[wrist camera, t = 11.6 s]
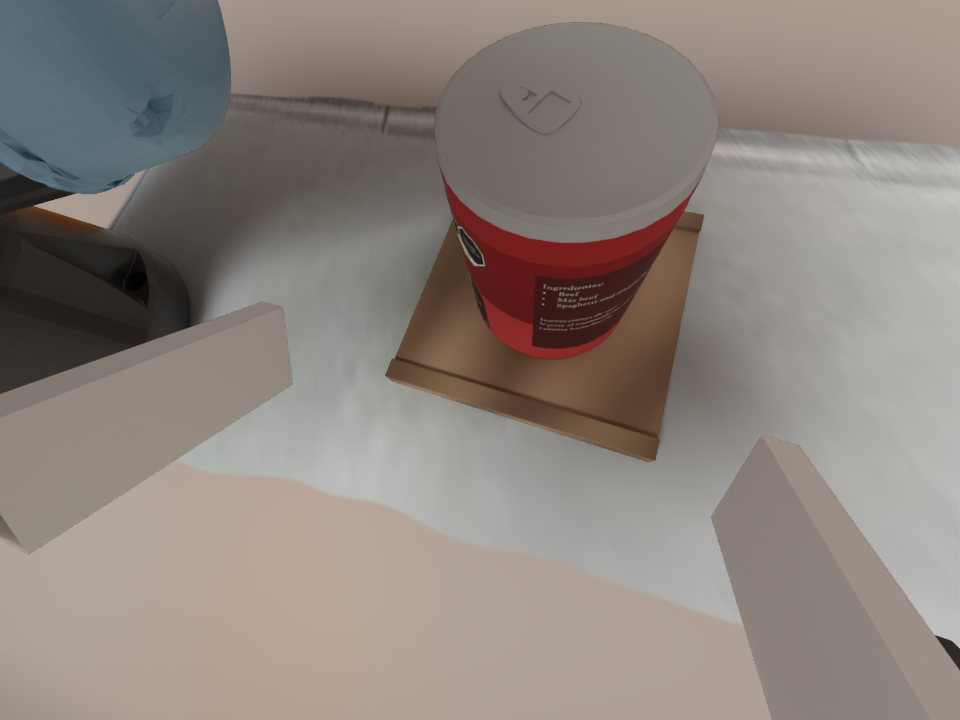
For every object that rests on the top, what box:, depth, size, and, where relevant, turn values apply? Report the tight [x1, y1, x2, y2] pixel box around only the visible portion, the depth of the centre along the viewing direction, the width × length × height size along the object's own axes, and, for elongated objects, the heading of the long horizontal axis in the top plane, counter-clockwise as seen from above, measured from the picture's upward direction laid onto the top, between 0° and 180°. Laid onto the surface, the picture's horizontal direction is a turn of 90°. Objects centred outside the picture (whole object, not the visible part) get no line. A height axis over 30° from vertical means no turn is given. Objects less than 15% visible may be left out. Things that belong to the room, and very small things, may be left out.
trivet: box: [385, 212, 704, 462], centre depth 21 cm, size 14×14×1 cm
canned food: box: [434, 22, 719, 360], centre depth 16 cm, size 8×8×11 cm
